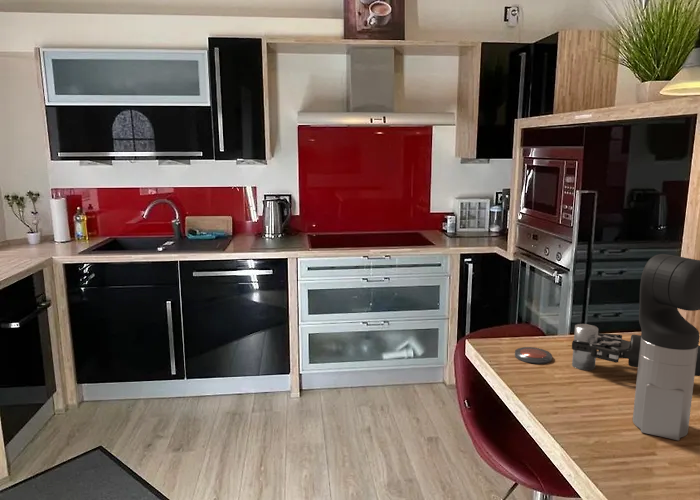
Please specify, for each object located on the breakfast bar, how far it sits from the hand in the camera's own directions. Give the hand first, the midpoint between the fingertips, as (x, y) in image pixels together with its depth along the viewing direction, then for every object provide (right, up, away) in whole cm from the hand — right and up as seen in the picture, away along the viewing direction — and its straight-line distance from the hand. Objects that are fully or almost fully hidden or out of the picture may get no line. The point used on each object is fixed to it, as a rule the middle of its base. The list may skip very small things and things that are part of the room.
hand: (574, 341), depth 130 cm
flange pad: (-8, -5, +6) cm, 11 cm away
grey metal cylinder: (+2, -6, 0) cm, 7 cm away
